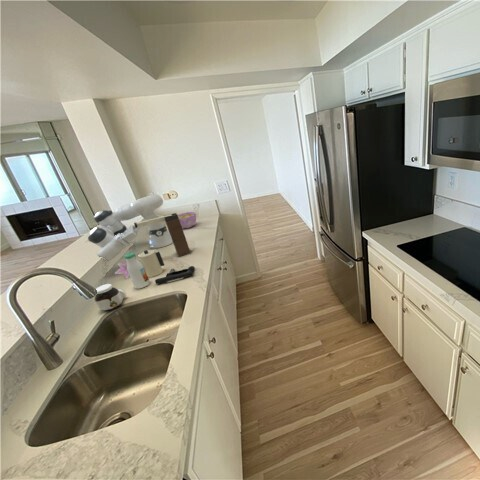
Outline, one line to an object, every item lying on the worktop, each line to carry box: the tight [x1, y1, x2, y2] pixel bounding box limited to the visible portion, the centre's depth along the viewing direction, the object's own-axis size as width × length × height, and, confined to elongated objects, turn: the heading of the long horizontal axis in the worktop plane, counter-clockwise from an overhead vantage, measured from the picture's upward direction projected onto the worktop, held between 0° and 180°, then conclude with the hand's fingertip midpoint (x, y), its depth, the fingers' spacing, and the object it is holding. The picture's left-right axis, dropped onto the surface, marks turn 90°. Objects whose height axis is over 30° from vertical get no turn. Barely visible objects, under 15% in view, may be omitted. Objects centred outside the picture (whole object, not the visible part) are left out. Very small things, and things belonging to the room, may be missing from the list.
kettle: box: [136, 249, 165, 278], centre depth 162 cm, size 14×9×16 cm, turn 125°
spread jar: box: [94, 283, 127, 312], centre depth 135 cm, size 12×11×12 cm
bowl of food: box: [177, 211, 197, 230], centre depth 246 cm, size 20×20×12 cm
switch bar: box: [133, 213, 173, 228], centre depth 175 cm, size 3×22×3 cm, turn 125°
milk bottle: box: [124, 252, 151, 290], centre depth 149 cm, size 8×8×20 cm
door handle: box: [154, 265, 195, 285], centre depth 159 cm, size 3×20×16 cm
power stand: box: [164, 212, 191, 258], centre depth 185 cm, size 10×8×29 cm
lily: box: [114, 259, 130, 279], centre depth 166 cm, size 12×12×10 cm
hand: (140, 224), depth 171 cm, fingers open, 8 cm apart
